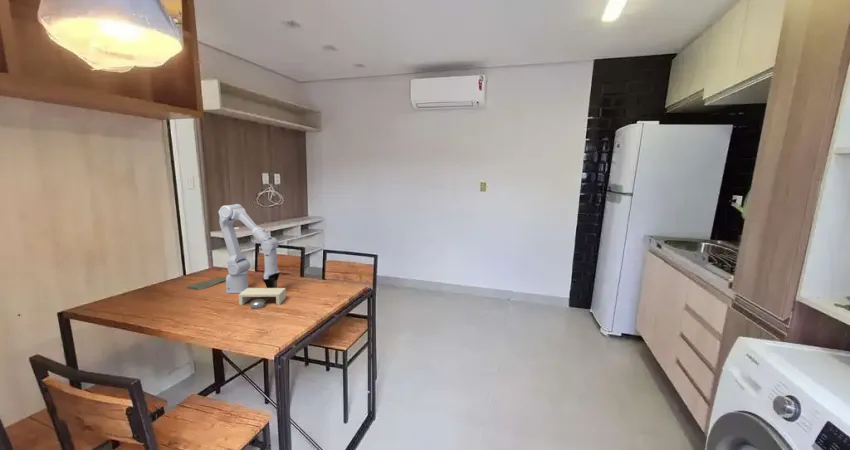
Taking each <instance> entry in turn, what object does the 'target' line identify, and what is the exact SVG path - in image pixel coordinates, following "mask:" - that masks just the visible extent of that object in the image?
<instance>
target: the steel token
mask: <svg viewBox="0 0 850 450" xmlns="http://www.w3.org/2000/svg"><path fill="white" fill-rule="evenodd" d="M249 303H250V304H249V305H250V309H251V310H259V309H263V308H265V307H266V302H265V300H263V299H259V298H257V299H253V300H251V301H249Z"/></svg>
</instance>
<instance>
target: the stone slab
mask: <svg viewBox="0 0 850 450" xmlns="http://www.w3.org/2000/svg"><path fill="white" fill-rule="evenodd" d="M226 277H227V276H223V277H218V278H213V279H209V280H204V281H201V282H195V283H193V284H190V285H188V286H186V288H187V289H188V290H189V289H190V290H194V291H202V290H205V289H208V288H210V287H212V286H215V285H217V284H219V283H222V282H226Z"/></svg>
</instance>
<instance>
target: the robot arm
mask: <svg viewBox="0 0 850 450" xmlns="http://www.w3.org/2000/svg"><path fill="white" fill-rule="evenodd" d="M218 215H219V219H218V220H219V226H220V231H221V233H222V236H223V239H224V242H225V246H226V250H227V252H228V256H229V257H228V259H227V261H226V263H227V271H228V274H227V275H226V276H225V277H226V280H225V288H226V291H225V293H226V294H240V293H241V292H243V291H244V290H245V289H247V288H253V287H252V286H249V278H248V277H249V276H248V272H249V269H250V268H251V263H250V261H249V260H248V259H247V256H246V255H244V253H242V250H241V247H240V244H239V240H238V237H237V234H236V230H235V228H234V223H235V221H240V222H241V223H242V224H243V225H245V227H247V228H248V229H249V230H250V231H251V236H252V237H253V238H254V239H255V240H256V241H257V242H258V243H259V245H260V248H261V250H262V251H263V252H262V253H263V259H264V261H263V262H264V273H263V277H262V279H261V280H262V281H263V282H264V285H265V286H266V287H265V288H273V282H274V280H277V281H278V279H279V276H280V274H281V270H279V267H278V255H277V248H278V247H279V241H278V239H277V238H276V237H272V236H271V235H270V234H269V233H268V232H267V231H266V229H265V228H264V227H263V226H262V227H261V226H258V225H257V224H256V223H255V222H254V220H253V219H252V218H251V217H250V216H249V214H248V213H247V211H246V208H244V207H243V206H242V205H241V204H239V203H235V204H229V205H227V204H226V205H222V206H220V208H219V210H218Z"/></svg>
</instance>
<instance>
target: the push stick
mask: <svg viewBox="0 0 850 450" xmlns="http://www.w3.org/2000/svg"><path fill="white" fill-rule="evenodd" d="M273 288H278V280H274V282H273ZM270 298H272V297H259V298H258V299H263V300H265V303H266V302H267V301H269V300H270Z"/></svg>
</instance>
